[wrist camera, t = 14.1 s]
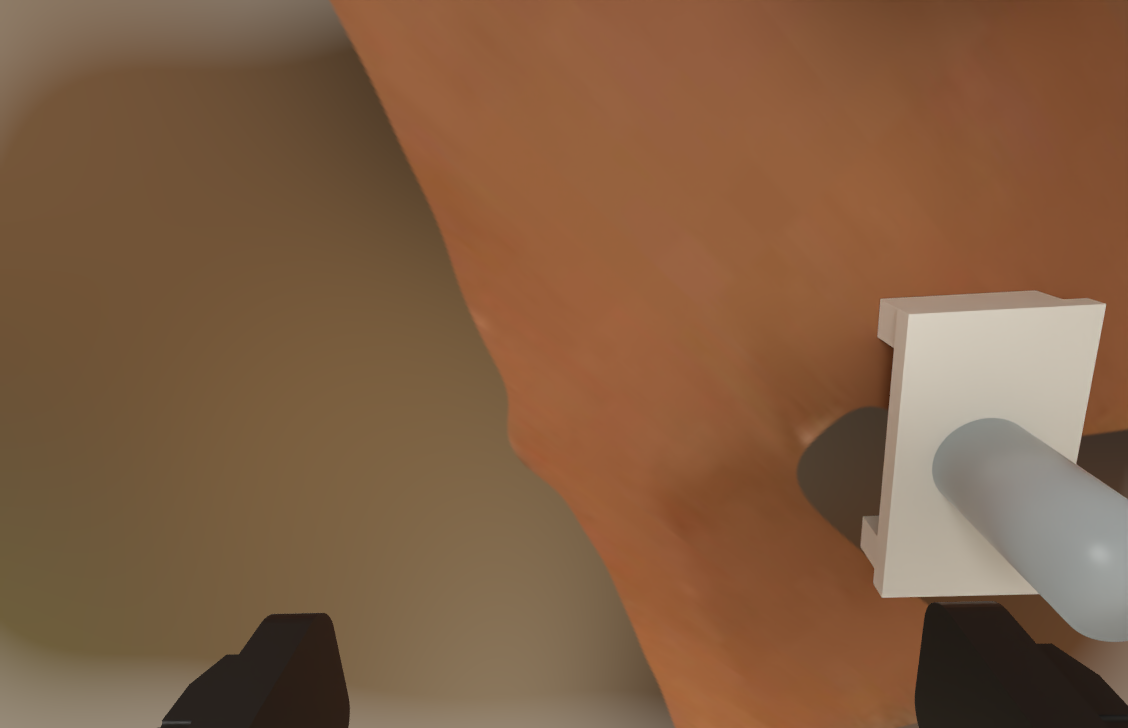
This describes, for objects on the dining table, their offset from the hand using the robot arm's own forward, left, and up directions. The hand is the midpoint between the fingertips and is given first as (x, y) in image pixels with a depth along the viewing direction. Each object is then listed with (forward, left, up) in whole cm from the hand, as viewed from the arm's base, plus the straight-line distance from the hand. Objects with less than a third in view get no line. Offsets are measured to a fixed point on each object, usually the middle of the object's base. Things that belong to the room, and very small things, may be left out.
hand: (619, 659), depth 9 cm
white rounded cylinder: (+12, +21, -28) cm, 37 cm away
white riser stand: (+12, +21, -33) cm, 41 cm away
